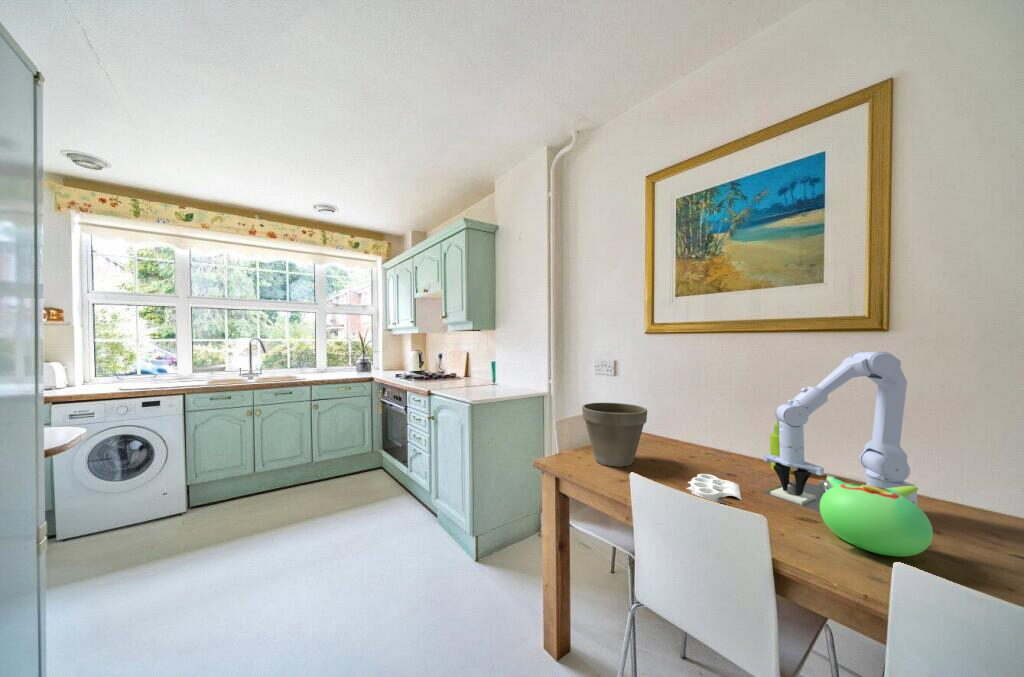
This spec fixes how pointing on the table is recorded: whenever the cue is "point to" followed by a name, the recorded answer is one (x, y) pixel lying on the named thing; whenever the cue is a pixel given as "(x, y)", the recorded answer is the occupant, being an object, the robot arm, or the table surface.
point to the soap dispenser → (775, 443)
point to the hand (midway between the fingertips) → (792, 492)
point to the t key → (825, 483)
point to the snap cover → (793, 494)
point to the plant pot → (614, 431)
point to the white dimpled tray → (713, 488)
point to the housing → (808, 489)
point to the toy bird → (876, 518)
